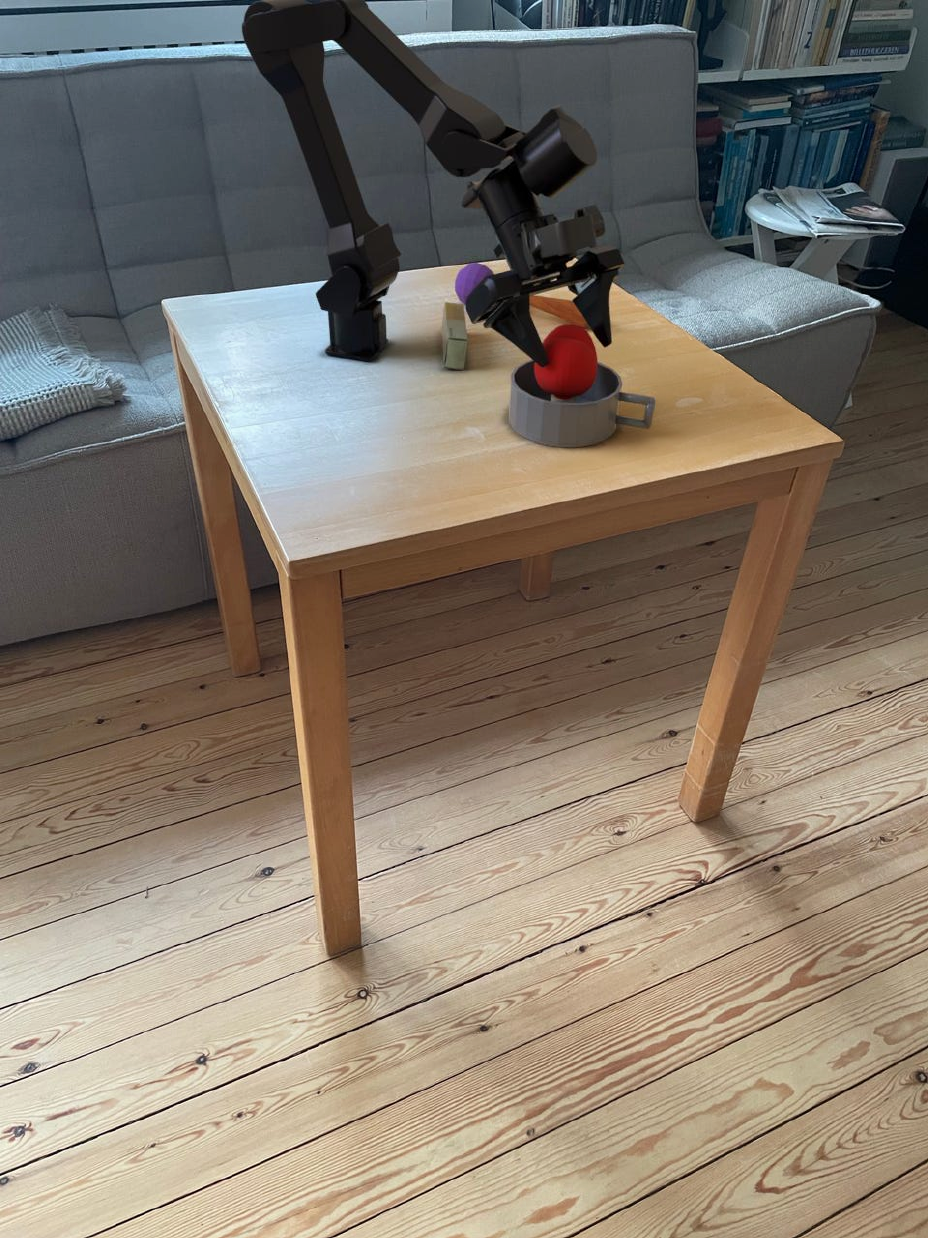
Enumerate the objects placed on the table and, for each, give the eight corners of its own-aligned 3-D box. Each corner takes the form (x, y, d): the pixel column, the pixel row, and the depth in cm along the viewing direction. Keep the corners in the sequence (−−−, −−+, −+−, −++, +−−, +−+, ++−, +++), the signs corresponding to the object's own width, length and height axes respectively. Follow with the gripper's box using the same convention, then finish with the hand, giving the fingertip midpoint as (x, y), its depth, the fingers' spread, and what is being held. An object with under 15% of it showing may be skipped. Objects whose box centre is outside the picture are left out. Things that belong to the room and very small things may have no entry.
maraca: (583, 307, 123) (447, 271, 129) (578, 345, 128) (448, 309, 133) (598, 285, 127) (466, 250, 132) (593, 323, 132) (465, 288, 137)
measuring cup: (495, 436, 104) (497, 393, 101) (524, 389, 113) (527, 349, 110) (640, 461, 100) (647, 418, 97) (658, 411, 110) (665, 370, 106)
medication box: (464, 370, 117) (468, 340, 115) (443, 369, 117) (447, 338, 114) (459, 330, 126) (463, 301, 124) (440, 328, 126) (443, 299, 123)
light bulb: (587, 438, 103) (597, 353, 97) (525, 431, 104) (531, 346, 98) (594, 401, 110) (604, 319, 104) (536, 395, 111) (542, 313, 105)
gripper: (485, 193, 89) (551, 342, 90) (624, 166, 98) (684, 302, 98) (437, 254, 99) (497, 388, 99) (567, 224, 108) (622, 347, 108)
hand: (577, 355), depth 101 cm, fingers open, 9 cm apart
